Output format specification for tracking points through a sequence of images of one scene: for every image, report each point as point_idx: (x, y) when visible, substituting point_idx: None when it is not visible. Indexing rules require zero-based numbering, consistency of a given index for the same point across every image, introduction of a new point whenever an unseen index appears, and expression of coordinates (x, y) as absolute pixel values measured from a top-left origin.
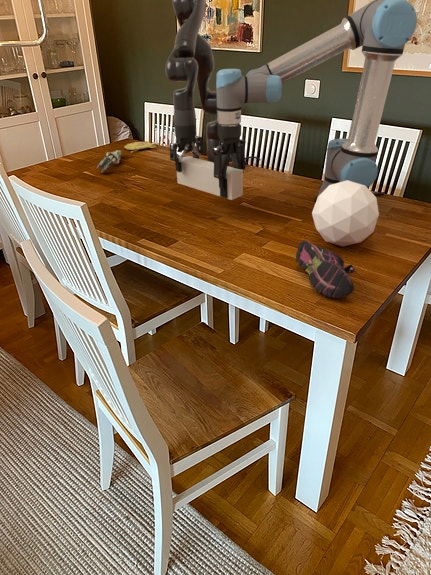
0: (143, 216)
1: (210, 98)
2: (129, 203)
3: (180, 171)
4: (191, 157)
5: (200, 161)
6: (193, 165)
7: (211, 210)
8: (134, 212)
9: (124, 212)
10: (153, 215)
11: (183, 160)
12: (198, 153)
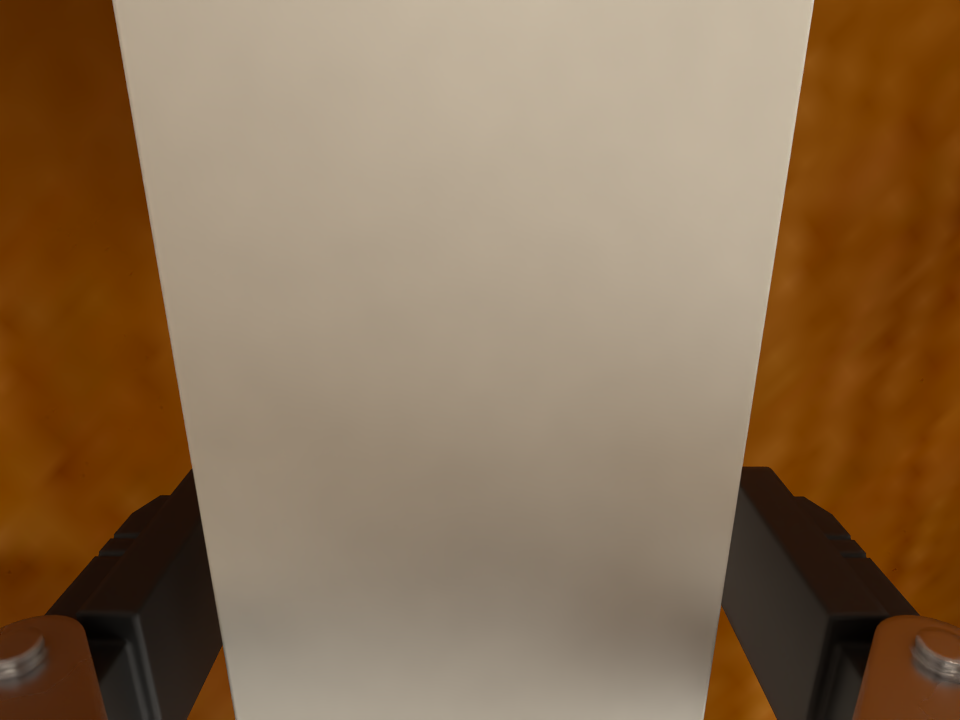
0: (922, 442)
1: None
2: (759, 710)
3: (770, 474)
4: (268, 712)
5: (356, 206)
6: (775, 154)
7: None
8: (888, 557)
9: (928, 612)
10: (859, 393)
11: (628, 686)
12: (4, 689)
